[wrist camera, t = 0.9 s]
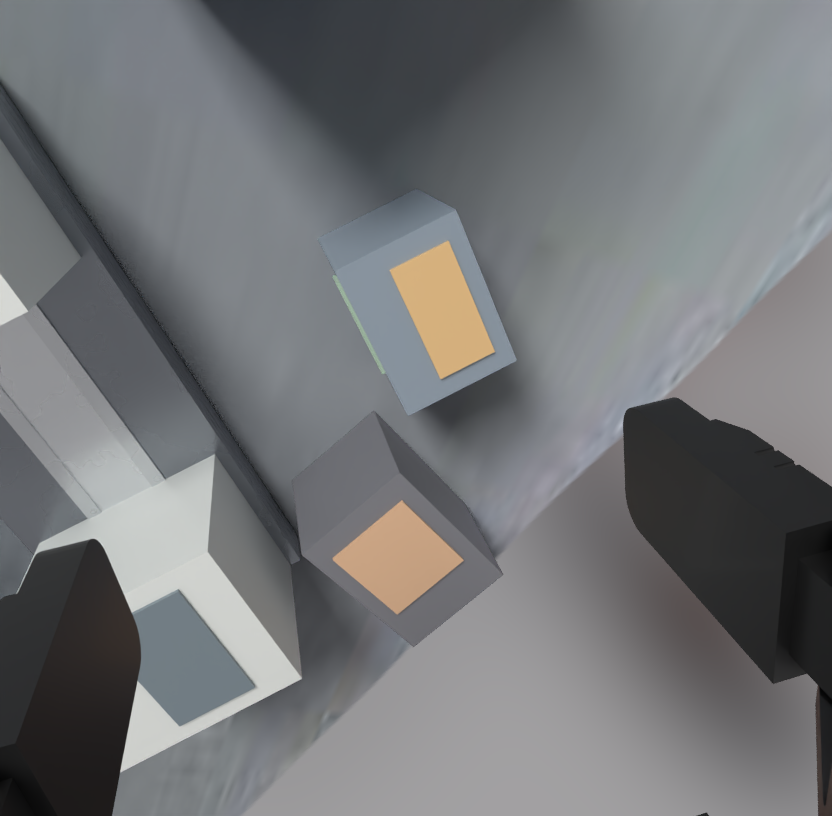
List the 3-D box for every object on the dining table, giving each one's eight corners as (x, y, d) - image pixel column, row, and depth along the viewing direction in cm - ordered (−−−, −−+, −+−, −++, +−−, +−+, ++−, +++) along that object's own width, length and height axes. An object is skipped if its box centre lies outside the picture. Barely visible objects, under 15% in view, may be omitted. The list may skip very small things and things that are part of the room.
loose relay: (373, 409, 32) (400, 474, 27) (463, 501, 35) (504, 576, 30) (292, 479, 33) (301, 557, 27) (388, 564, 36) (414, 649, 30)
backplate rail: (-11, 67, 24) (-32, 64, 22) (297, 535, 34) (300, 561, 32) (-253, 186, 24) (-295, 194, 22) (127, 622, 34) (120, 653, 32)
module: (416, 188, 29) (457, 210, 23) (470, 315, 32) (518, 362, 26) (313, 239, 29) (330, 273, 23) (376, 363, 32) (405, 419, 26)
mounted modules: (-46, 72, 22) (-161, 62, 16) (290, 565, 32) (302, 681, 26) (-282, 188, 22) (-494, 226, 16) (128, 648, 32) (100, 786, 26)
